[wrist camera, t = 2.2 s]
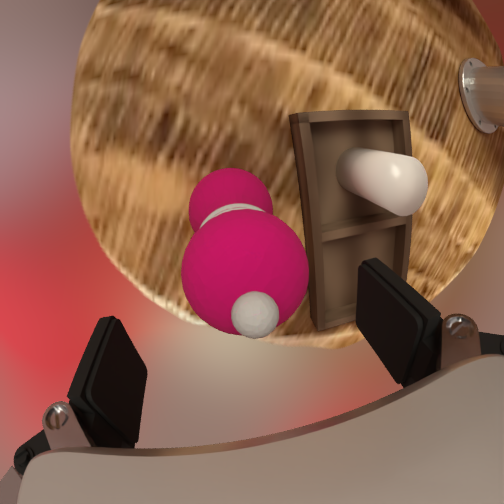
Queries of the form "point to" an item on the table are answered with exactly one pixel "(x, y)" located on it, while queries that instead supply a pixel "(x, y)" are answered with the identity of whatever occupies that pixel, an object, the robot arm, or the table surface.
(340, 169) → the salt shaker
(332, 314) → the walnut cruet tray
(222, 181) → the pepper mill
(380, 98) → the table surface
